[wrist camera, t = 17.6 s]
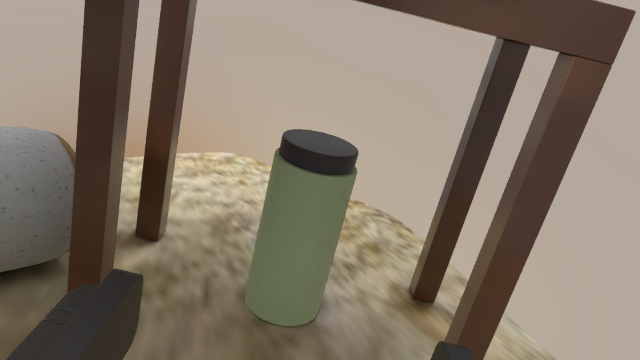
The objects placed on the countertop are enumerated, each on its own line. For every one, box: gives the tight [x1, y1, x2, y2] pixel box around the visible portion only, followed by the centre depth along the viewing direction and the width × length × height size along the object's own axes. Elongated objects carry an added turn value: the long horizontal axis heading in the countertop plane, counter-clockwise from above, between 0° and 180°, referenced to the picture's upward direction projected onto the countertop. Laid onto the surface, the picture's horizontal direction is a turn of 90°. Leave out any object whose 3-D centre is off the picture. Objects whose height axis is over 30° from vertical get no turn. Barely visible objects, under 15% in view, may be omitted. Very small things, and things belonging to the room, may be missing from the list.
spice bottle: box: [245, 129, 358, 326], centre depth 27 cm, size 4×4×10 cm
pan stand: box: [67, 0, 635, 360], centre depth 28 cm, size 20×23×21 cm
